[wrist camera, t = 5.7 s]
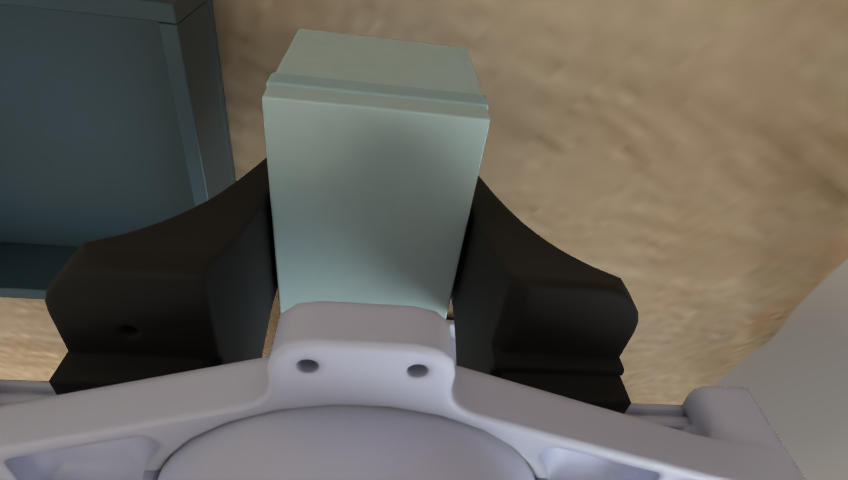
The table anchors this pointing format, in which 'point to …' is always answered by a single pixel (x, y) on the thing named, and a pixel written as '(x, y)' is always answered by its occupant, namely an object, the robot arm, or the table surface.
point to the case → (371, 168)
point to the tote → (103, 126)
